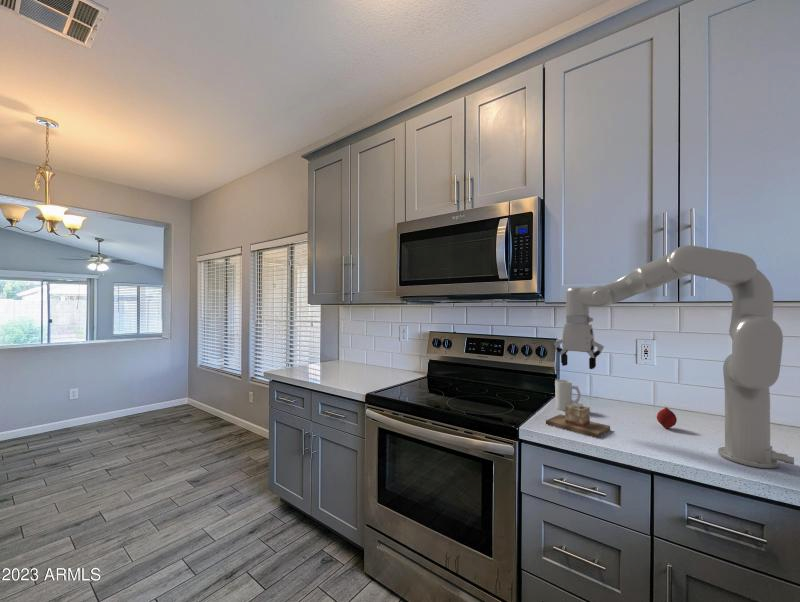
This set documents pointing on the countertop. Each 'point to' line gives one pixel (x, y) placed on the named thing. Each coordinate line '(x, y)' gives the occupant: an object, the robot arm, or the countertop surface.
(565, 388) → the mug
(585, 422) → the sleeve
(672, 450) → the countertop surface
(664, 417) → the onion
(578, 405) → the steel pin
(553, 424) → the pin board
